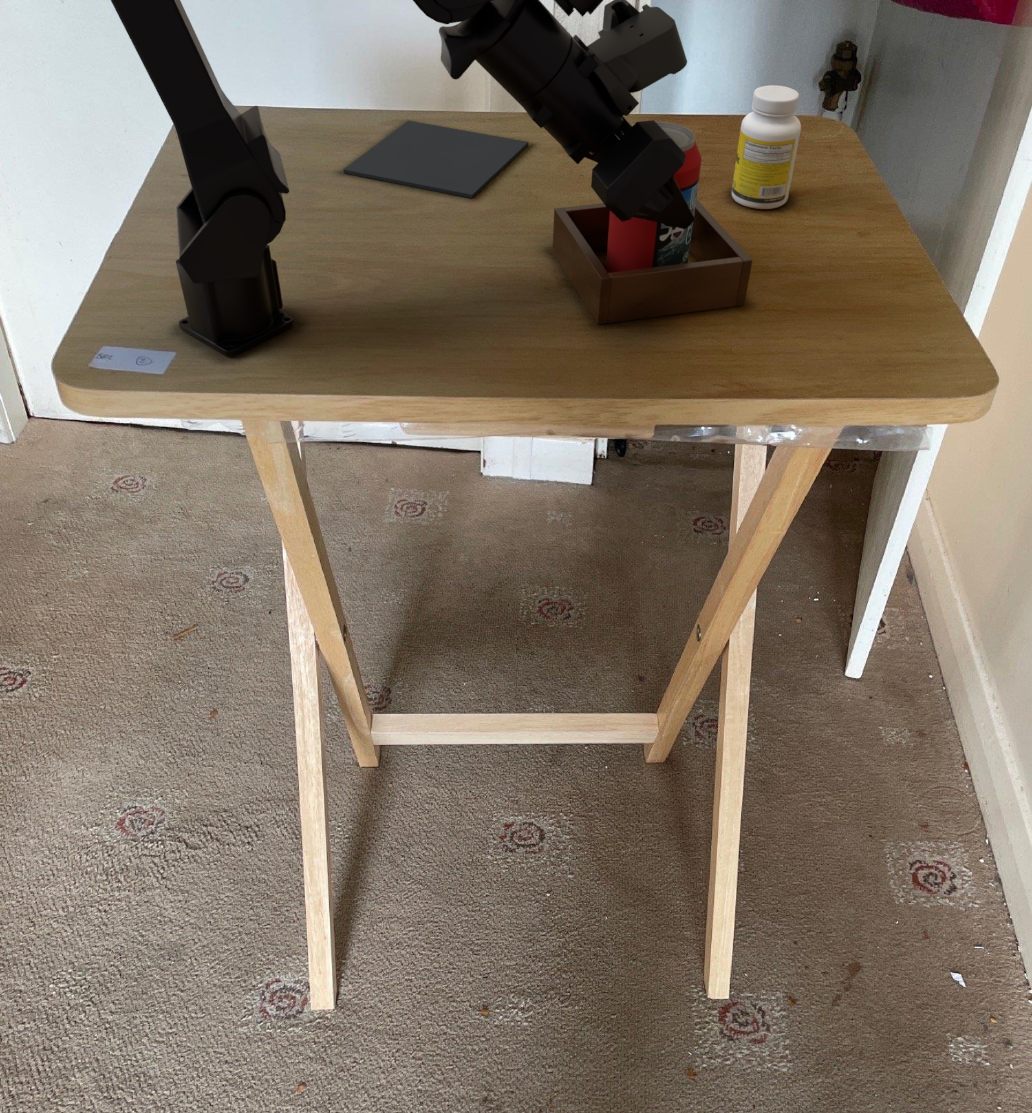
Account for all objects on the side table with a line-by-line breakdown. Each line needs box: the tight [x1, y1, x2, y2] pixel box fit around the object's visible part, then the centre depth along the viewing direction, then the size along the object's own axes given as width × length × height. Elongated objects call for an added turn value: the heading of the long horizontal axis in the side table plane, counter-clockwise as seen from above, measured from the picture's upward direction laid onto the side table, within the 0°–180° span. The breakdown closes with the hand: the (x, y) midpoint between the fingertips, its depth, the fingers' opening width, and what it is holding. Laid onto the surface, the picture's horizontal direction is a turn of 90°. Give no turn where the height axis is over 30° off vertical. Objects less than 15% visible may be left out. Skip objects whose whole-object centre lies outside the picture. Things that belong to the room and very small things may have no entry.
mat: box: [342, 120, 529, 199], centre depth 105 cm, size 14×14×1 cm
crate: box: [552, 199, 753, 325], centre depth 86 cm, size 13×13×4 cm
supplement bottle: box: [731, 84, 802, 210], centre depth 96 cm, size 5×5×10 cm
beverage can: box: [605, 121, 702, 273], centre depth 84 cm, size 7×7×12 cm
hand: (669, 199), depth 83 cm, fingers open, 8 cm apart
